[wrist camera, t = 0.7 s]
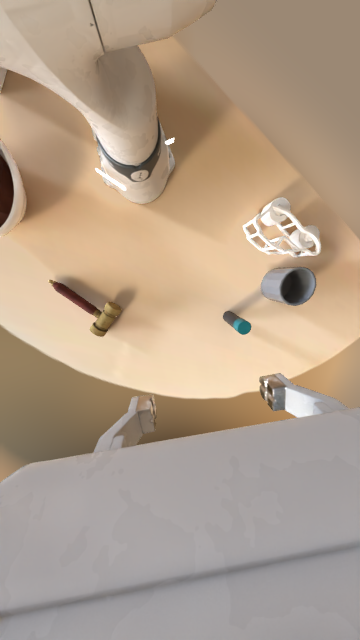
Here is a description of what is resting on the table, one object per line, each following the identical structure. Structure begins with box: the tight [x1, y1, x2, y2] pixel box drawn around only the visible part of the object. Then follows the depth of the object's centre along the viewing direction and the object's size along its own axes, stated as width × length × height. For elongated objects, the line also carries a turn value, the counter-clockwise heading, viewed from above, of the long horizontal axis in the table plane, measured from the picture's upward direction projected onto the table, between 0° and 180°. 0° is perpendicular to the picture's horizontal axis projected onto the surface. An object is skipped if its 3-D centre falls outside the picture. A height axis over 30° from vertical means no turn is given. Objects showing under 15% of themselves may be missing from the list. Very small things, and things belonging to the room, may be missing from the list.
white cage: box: [243, 197, 321, 257], centre depth 48 cm, size 20×11×7 cm, turn 56°
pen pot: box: [261, 267, 316, 306], centre depth 51 cm, size 10×10×10 cm
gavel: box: [49, 280, 122, 337], centre depth 51 cm, size 21×5×10 cm
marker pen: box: [223, 311, 251, 335], centre depth 51 cm, size 4×4×12 cm
